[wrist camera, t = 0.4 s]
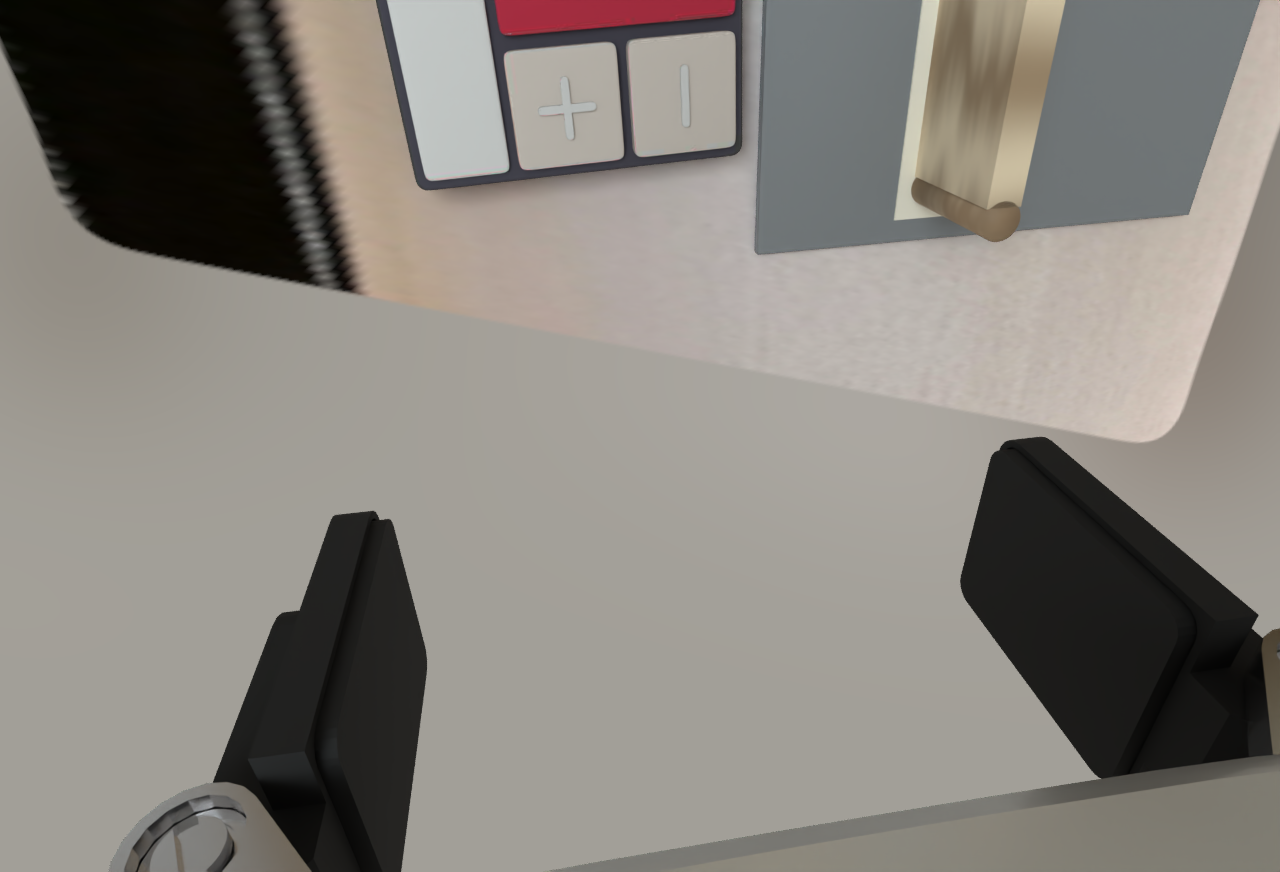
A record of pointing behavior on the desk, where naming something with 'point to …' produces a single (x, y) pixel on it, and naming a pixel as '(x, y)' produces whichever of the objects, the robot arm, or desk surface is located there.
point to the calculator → (562, 85)
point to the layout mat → (1067, 132)
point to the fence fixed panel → (984, 110)
